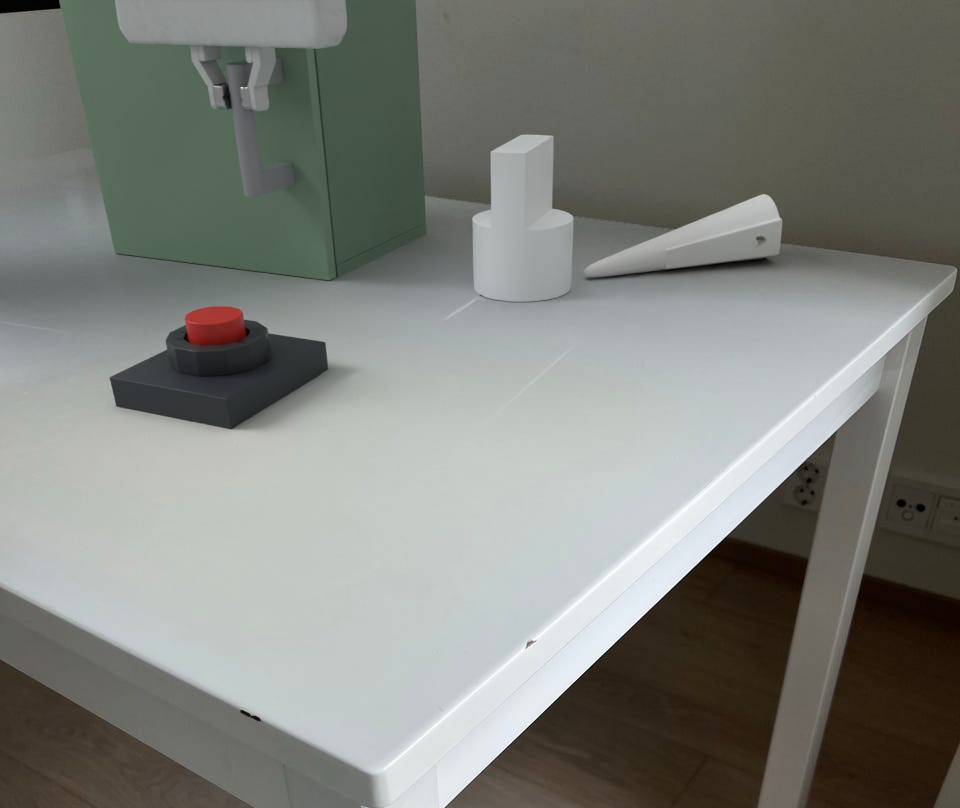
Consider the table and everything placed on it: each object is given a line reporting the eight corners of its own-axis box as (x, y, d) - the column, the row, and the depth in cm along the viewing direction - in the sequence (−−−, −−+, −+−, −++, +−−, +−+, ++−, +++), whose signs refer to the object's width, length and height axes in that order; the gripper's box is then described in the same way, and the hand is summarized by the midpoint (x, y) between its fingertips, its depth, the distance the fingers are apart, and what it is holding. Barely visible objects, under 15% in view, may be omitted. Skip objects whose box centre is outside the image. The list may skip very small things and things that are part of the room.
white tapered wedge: (567, 279, 99) (749, 244, 102) (587, 305, 95) (778, 267, 97) (565, 221, 96) (754, 185, 98) (586, 245, 91) (784, 206, 93)
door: (294, 298, 90) (254, -23, 76) (73, 268, 99) (1, -22, 85) (336, 277, 95) (306, -27, 81) (122, 250, 105) (63, -26, 91)
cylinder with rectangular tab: (491, 270, 97) (490, 132, 90) (582, 277, 94) (587, 136, 87) (459, 297, 90) (455, 150, 83) (555, 305, 87) (559, 155, 80)
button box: (231, 430, 67) (221, 372, 64) (116, 407, 70) (102, 351, 68) (328, 370, 75) (323, 317, 73) (221, 352, 79) (213, 301, 77)
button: (223, 352, 69) (218, 326, 68) (177, 344, 70) (172, 319, 69) (257, 334, 71) (254, 309, 70) (212, 327, 73) (208, 303, 72)
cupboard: (338, 278, 95) (308, -29, 81) (124, 251, 105) (64, -28, 91) (426, 234, 108) (414, -37, 94) (229, 214, 118) (191, -35, 104)
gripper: (76, -94, 76) (117, 109, 84) (300, -103, 69) (322, 121, 77) (133, -94, 81) (167, 99, 89) (348, -101, 74) (364, 109, 82)
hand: (240, 109), depth 83 cm, fingers closed on door, 2 cm apart
